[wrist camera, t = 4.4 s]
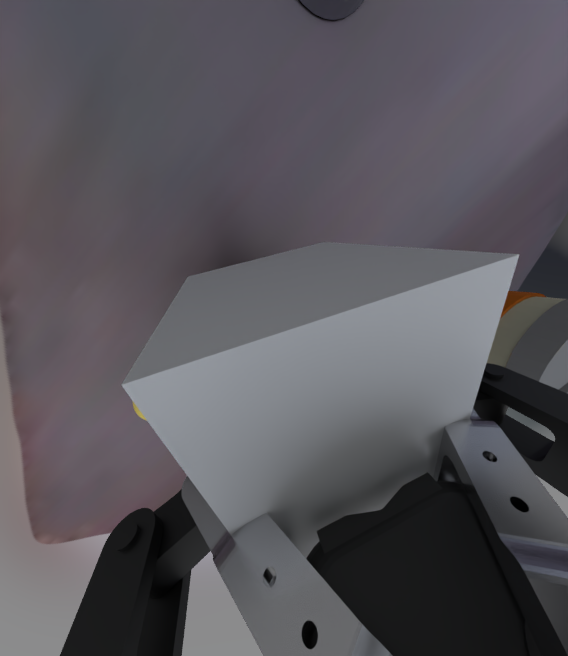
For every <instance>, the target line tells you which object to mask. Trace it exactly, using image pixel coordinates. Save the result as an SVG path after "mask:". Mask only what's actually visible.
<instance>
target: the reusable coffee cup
mask: <svg viewBox="0 0 568 656" xmlns="http://www.w3.org/2000/svg"><path fill="white" fill-rule="evenodd" d="M487 363H490V364H496V365H499V366H502V367H505V368H507V369H510V370H512V371H515V372H517V373H519V374H522V375H524V376H527V377H529V378H531V379H534V380H536V381H539V382H541V383H543V384H546V385H548V386H551V387H553V388H556V389H558V390H560V391H563V392H565V393H568V299H558V298H547V297H546V296H544V295H543V294H539V293H529V292H516V291H508V294H507V297H506V300H505V304H504V307H503V310H502V314H501V317H500V320H499V324H498V327H497V330H496V334H495V337H494V340H493V343H492V347H491V350H490V353H489V357H488V360H487Z"/></svg>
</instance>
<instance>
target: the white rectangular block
mask: <svg viewBox="0 0 568 656" xmlns="http://www.w3.org/2000/svg"><path fill="white" fill-rule="evenodd" d="M518 257H519V254H505V253H489V252H474V251H458V250H443V249H427V248H411V247H396V246H380V245H365V244H349V243H333V242H322V243H318V244H314V245H310V246H306V247H302V248H298V249H294V250H290V251H286V252H282V253H278V254H275V255H271V256H267V257H263V258H259V259H255V260H251V261H247V262H243V263H239V264H235V265H231V266H228V267H224V268H220V269H216V270H212V271H208V272H204V273H200V274H196V275H192V276H188V277H187V279H186V280H185V282H184V284H183V285H182V287H181V289H180V290H179V292H178V293H177V295H176V297H175V298H174V300H173V302H172V303H171V305H170V306H169V308H168V310H167V311H166V313H165V315H164V316H163V318H162V319H161V321H160V323H159V324H158V326H157V328H156V329H155V331H154V332H153V334H152V336H151V337H150V339H149V341H148V342H147V344H146V345H145V347H144V349H143V350H142V352H141V354H140V355H139V357H138V358H137V360H136V362H135V363H134V365H133V367H132V368H131V370H130V371H129V373H128V375H127V376H126V378H125V380H124V381H123V383H122V384H121V385H122V387H123V388H124V390H125V391H126V392H127V394H128V395H129V396H130V398H131V399H132V401H133V402H134V403H135V405H136V406H137V407H138V409H139V410H140V411H141V413H142V414H143V416H144V417H145V418H146V420H147V421H148V422H149V424H150V425H151V427H152V428H153V429H154V431H155V432H156V433H157V435H158V436H159V437H160V439H161V440H162V442H163V443H164V444H165V446H166V447H167V448H168V450H169V451H170V453H171V454H172V455H173V457H174V458H175V459H176V461H177V462H178V463H179V465H180V466H181V468H182V469H183V470H184V472H185V473H186V474H187V476H188V477H189V479H190V480H191V481H192V483H193V484H194V485H195V487H196V488H197V489H198V491H199V492H200V494H201V495H202V496H203V498H204V499H205V500H206V502H207V503H208V504H209V506H210V507H211V509H212V510H213V511H214V513H215V514H216V515H217V517H218V518H219V520H220V521H221V522H222V524H223V525H224V526H225V528H226V529H227V530H228V532H229V533H230V535H232V534H233V533H234V532H235V531H237V530H238V529H239V528H241V527H242V526H244V525H245V524H247V523H248V522H250V521H252V520H253V519H255V518H257V517H259V516H261V515H263V514H265V513H267V514H268V515H269V516H270V518H271V519H272V520H273V521H274V522H275V523H276V525H277V526H278V527H279V528H280V529H281V530H282V532H283V533H284V534H285V535H286V536H287V537H288V538H289V540H290V541H291V542H292V543H293V544H294V545H295V547H296V548H297V549H298V550H299V551H300V552H301V554H302V555H303V556H304V557H305V558H307V556H308V555H309V553H310V552H311V550H312V549H313V547H314V546H315V545H316V544H317V543H318V542H319V538H318V534H317V530H319V529H321V528H323V527H325V526H327V525H329V524H331V523H332V522H334V521H336V520H338V519H340V518H342V517H344V516H346V515H351V514H358V513H365V512H372V511H378V510H381V509H383V508H384V507H385V505H386V504H387V503H388V502H389V501H390V500H391V498H392V497H393V496H394V495H395V494H396V493H397V492H398V490H399V489H400V488H401V487H402V486H403V485H405V484H407V483H408V482H410V481H412V480H414V479H416V478H418V477H420V476H422V475H424V474H425V473H427V472H428V473H429V474H430V475H431V476H432V477H433V475H434V471H435V467H436V462H437V458H438V453H439V449H440V444H441V440H442V436H443V431H444V427H445V426H446V425H449V424H451V423H453V422H456V421H459V420H463V419H470V416H471V413H472V410H473V406H474V403H475V400H476V396H477V393H478V390H479V387H480V383H481V380H482V377H483V373H484V370H485V367H486V363H487V360H488V357H489V353H490V350H491V347H492V343H493V340H494V337H495V334H496V330H497V327H498V324H499V320H500V317H501V314H502V310H503V307H504V304H505V300H506V297H507V294H508V290H509V287H510V284H511V281H512V277H513V274H514V271H515V267H516V264H517V261H518Z"/></svg>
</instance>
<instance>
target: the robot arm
mask: <svg viewBox="0 0 568 656" xmlns="http://www.w3.org/2000/svg"><path fill="white" fill-rule="evenodd" d="M300 1H301V2H302V4H303V5H304V6H306V7H307V8H308V9H309V10H310V11H311V12H312V13H314V14H316V15H318V16H320V17H322V18H324V19H330V20H337V19H342V18H345V17H347V16H348V15H350V14H351V13H353V12H354V11H355V10H356V9H357V8H358V7H359V6H360V5H361V4H362V2H363V1H364V0H300ZM508 407H510V408H512V409H514V410H516V411H518V412H520V413H521V414H524V415H525V416H527V417H529V418H531V419H533V420H535V421H536V422H538V423H540V424H542V425H544V426H545V427H547V428H548V429H549V430H551V432H552V433H553V434H554V436H555V442H554V441H552V440H550V439H548V438H546V437H544V436H542V435H541V434H539V433H537V432H535V431H533V430H532V429H530V428H528V427H527V426H525V425H523V424H521V423H520V422H518V421H516V420H514V419H513V418H511V417H509V416H507V415H506V411H507V409H508ZM536 475H537V476H538V477H540V478H541V479H543V480H544V481H546V482H547V483H549V484H550V485H551V486H553V487H554V488H556V489H557V490H558V491H560V492H561V493H563V494H564V495H566V496H567V497H568V393H565V392H563V391H560V390H558V389H556V388H553V387H551V386H548V385H546V384H543V383H541V382H539V381H536V380H534V379H531V378H529V377H527V376H524V375H522V374H519V373H517V372H515V371H512V370H510V369H507V368H505V367H502V366H499V365H496V364H490V363H486V367H485V370H484V373H483V377H482V380H481V383H480V387H479V390H478V393H477V396H476V400H475V403H474V406H473V410H472V413H471V416H470V419H463V420H459V421H456V422H453V423H451V424H449V425H446V426H445V427H444V431H443V436H442V440H441V444H440V449H439V453H438V458H437V462H436V467H435V471H434V475H433V477H432V476H431V475H430V474H429V473H428V472H427V473H425V474H424V475H422V476H420V477H418V478H416V479H414V480H412V481H410V482H408V483H407V484H405V485H403V486H402V487H401V488H400V489H399V490H398V492H397V493H396V494H395V495H394V496H393V497H392V498H391V500H390V501H389V502H388V503H387V504H386V505H385V507H384V508H383V509H381V510H378V511H372V512H365V513H358V514H351V515H346V516H344V517H342V518H340V519H338V520H336V521H334V522H332V523H331V524H329V525H327V526H325V527H323V528H321V529H319V530H317V534H318V538H319V542H318V543H317V544H316V545H315V546H314V547H313V549H312V550H311V552H310V553H309V555H308V556H307V558H305V557H304V556H303V555H302V554H301V552H300V551H299V550H298V549H297V548H296V547H295V545H294V544H293V543H292V542H291V541H290V540H289V538H288V537H287V536H286V535H285V534H284V533H283V532H282V530H281V529H280V528H279V527H278V526H277V525H276V523H275V522H274V521H273V520H272V519H271V518H270V516H269V515H268V514H267V513H265V514H263V515H261V516H259V517H257V518H255V519H253V520H252V521H250V522H248V523H247V524H245V525H244V526H242V527H241V528H239V529H238V530H237V531H235V532H234V533H233V534H232V535H230V533H229V532H228V530H227V529H226V528H225V526H224V525H223V524H222V522H221V521H220V520H219V518H218V517H217V515H216V514H215V513H214V511H213V510H212V509H211V507H210V506H209V504H208V503H207V502H206V500H205V499H204V498H203V496H202V495H201V494H200V492H199V491H198V489H197V488H196V487H195V485H194V484H193V483H192V481H191V480H190V479H189V477H188V476H187V477H186V479H185V481H184V483H183V486H182V489H181V490H180V491H179V492H178V493H177V494H176V495H175V496H174V497H172V498H171V499H170V500H168V501H167V502H166V503H165V504H163V505H162V506H161V507H159V508H158V509H157V510H156V511H154V512H153V511H152V510H150V509H148V508H141V509H138V510H136V511H134V512H132V513H130V514H129V515H128V516H126V517H125V518H124V519H123V520H122V521H121V522H120V523H119V524H118V525H117V526H116V527H115V529H114V530H113V531H112V533H111V534H110V536H109V537H108V539H107V541H106V543H105V545H104V547H103V549H102V552H101V554H100V557H99V559H98V562H97V564H96V567H95V570H94V572H93V575H92V577H91V579H90V582H89V584H88V587H87V589H86V592H85V595H84V597H83V599H82V602H81V604H80V607H79V609H78V612H77V614H76V617H75V619H74V622H73V624H72V627H71V629H70V632H69V634H68V637H67V639H66V642H65V644H64V647H63V649H62V652H61V654H60V656H181V655H182V646H183V638H184V629H185V620H186V611H187V602H188V594H189V585H190V576H191V569H192V568H193V567H194V566H195V565H196V564H197V563H198V562H199V561H200V560H201V559H203V558H204V556H206V555H207V554H208V553H209V552H210V551H211V552H212V554H213V561H214V563H215V565H216V567H217V569H218V571H219V573H220V575H221V577H222V579H223V581H224V583H225V584H226V586H227V588H228V590H229V592H230V594H231V596H232V598H233V599H234V601H235V603H236V605H237V607H238V609H239V611H240V613H241V615H242V616H243V618H244V620H245V622H246V624H247V626H248V628H249V629H250V631H251V633H252V635H253V637H254V639H255V641H256V643H257V645H258V646H259V648H260V650H261V652H262V654H263V656H568V518H567V516H566V515H565V514H564V513H563V511H562V510H561V508H560V507H559V506H558V504H557V503H556V502H555V501H554V499H553V498H552V496H551V495H550V494H549V492H548V491H547V490H546V488H545V487H544V486H543V484H542V483H541V482H540V480H539V479H538V478H537V476H536Z"/></svg>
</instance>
